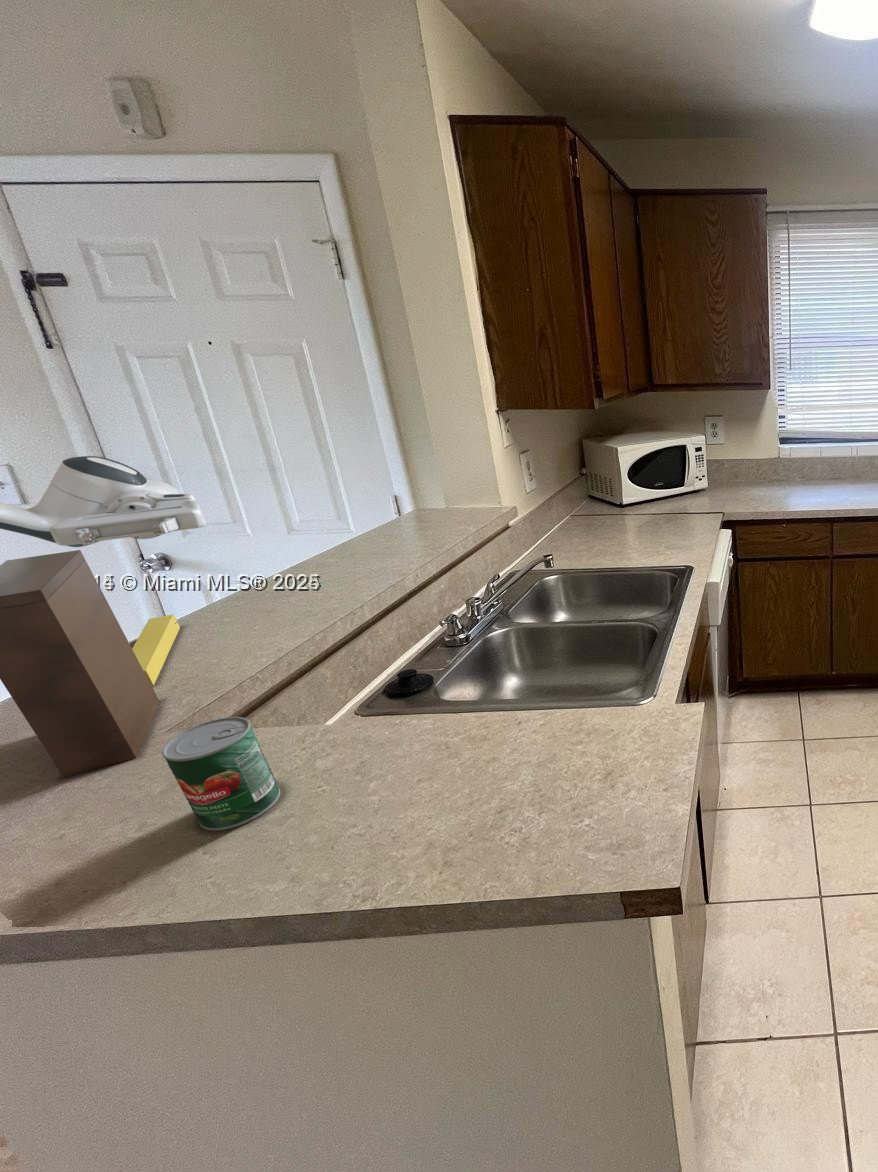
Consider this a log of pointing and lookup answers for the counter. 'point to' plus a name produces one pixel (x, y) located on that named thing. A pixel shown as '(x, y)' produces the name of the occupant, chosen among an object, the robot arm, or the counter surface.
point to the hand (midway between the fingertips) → (123, 535)
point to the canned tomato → (222, 772)
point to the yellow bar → (155, 644)
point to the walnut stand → (71, 663)
